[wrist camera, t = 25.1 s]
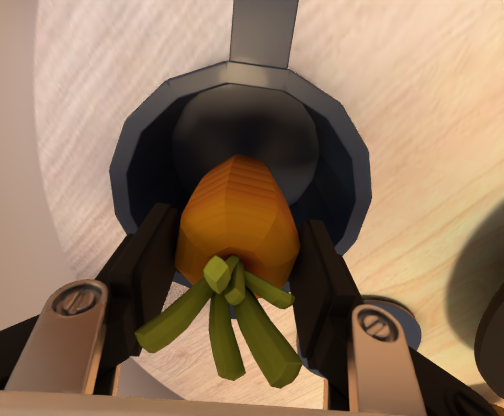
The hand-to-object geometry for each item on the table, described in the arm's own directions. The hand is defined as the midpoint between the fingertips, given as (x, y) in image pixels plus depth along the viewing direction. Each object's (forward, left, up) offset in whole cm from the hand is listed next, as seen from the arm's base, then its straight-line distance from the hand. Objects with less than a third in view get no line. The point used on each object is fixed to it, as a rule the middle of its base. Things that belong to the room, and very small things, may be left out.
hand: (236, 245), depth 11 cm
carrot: (0, 0, -10) cm, 10 cm away
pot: (0, 0, -11) cm, 11 cm away
